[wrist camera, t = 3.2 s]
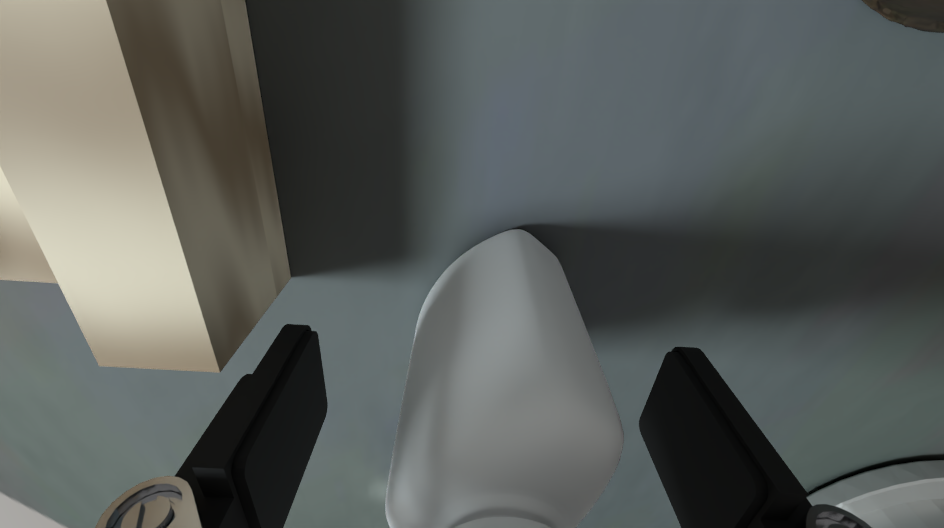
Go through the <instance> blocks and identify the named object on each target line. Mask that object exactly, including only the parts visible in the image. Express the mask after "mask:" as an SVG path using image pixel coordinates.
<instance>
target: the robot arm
mask: <svg viewBox="0 0 944 528" xmlns="http://www.w3.org/2000/svg"><path fill="white" fill-rule="evenodd" d="M326 413H327V397H326V389H325V382H324V375H323V368H322V361H321V353H320V346H319V339H318V334H317V332H316V331H311V328H310V326H308V325H293V324H286V325H285V326H284V327H283V328H282V329H281V331H280V333H279V334H278V336H277V337H276V339H275V340H274V342H273V343H272V345H271V346H270V348H269V349H268V351H267V353H266V354H265V356H264V357H263V359H262V360H261V362H260V363H259V365H258V366H257V368H256V370H255V371H254V373H253V374H246V375H245V376H243V377H242V378H241V379H240V381H239V382H238V383H237V385H236V386H235V388H234V389H233V391H232V392H231V394H230V395H229V397H228V398H227V400H226V401H225V403H224V404H223V405H222V407H221V408H220V410H219V411H218V413H217V414H216V416H215V417H214V419H213V420H212V422H211V423H210V425H209V426H208V428H207V429H206V431H205V432H204V434H203V435H202V437H201V438H200V440H199V441H198V443H197V444H196V445H195V447H194V448H193V450H192V451H191V453H190V454H189V456H188V457H187V459H186V460H185V462H184V463H183V465H182V466H181V468H180V469H179V471H178V472H177V474H176V475H175V477H173V476H164V477H157V478H153V479H150V480H148V481H145V482H142V483H140V484H138V485H136V486H135V487H133V488H131V489H129V490H128V491H126V492H125V493H123V494H122V495H121V496H120V497H119V498H117V499H116V500H115V501H114V502H112V504H111V505H110V506H109V507H108V508H107V509H106V511H105V512H104V513H103V514H102V515H101V517H100V519H99V521H98V523H97V525H96V527H95V528H283V526H284V524H285V521H286V519H287V516H288V513H289V511H290V508H291V506H292V503H293V500H294V498H295V495H296V493H297V490H298V487H299V485H300V482H301V480H302V477H303V474H304V472H305V469H306V466H307V464H308V461H309V459H310V456H311V453H312V451H313V448H314V446H315V443H316V440H317V438H318V435H319V433H320V430H321V427H322V425H323V422H324V419H325V417H326ZM639 428H640V432H641V435H642V437H643V439H644V442H645V444H646V446H647V449H648V451H649V453H650V456H651V458H652V460H653V463H654V465H655V467H656V470H657V472H658V474H659V477H660V479H661V481H662V484H663V486H664V488H665V491H666V493H667V495H668V497H669V500H670V502H671V504H672V507H673V509H674V511H675V514H676V516H677V518H678V521H679V523H680V525H681V528H944V460H931V461H916V462H909V463H903V464H896V465H891V466H887V467H882V468H878V469H874V470H870V471H866V472H863V473H860V474H857V475H854V476H851V477H849V478H846V479H843V480H840V481H838V482H835V483H833V484H831V485H829V486H827V487H824V488H822V489H820V490H818V491H816V492H814V493H812V494H811V495H809V496H807V495H808V493H807V492H806V491H805V489H804V488H803V487H802V485H801V484H800V483H799V481H798V480H797V479H796V477H795V476H794V475H793V473H792V472H791V470H790V469H789V468H788V466H787V465H786V464H785V462H784V461H783V460H782V458H781V457H780V456H779V454H778V453H777V452H776V450H775V449H774V448H773V446H772V445H771V443H770V442H769V441H768V439H767V438H766V437H765V435H764V434H763V433H762V431H761V430H760V429H759V427H758V426H757V425H756V423H755V422H754V420H753V419H752V418H751V416H750V415H749V414H748V412H747V411H746V410H745V408H744V407H743V406H742V404H741V403H740V402H739V400H738V399H737V398H736V396H735V395H734V393H733V392H732V391H731V389H730V388H729V387H728V385H727V384H726V383H725V381H724V380H723V379H722V377H721V376H720V375H719V373H718V372H717V370H716V369H715V368H714V366H713V365H712V364H711V362H710V361H709V360H708V358H707V357H706V356H705V354H704V353H703V352H702V351H701V350H700V349H698V348H690V347H675V348H674V349H673V350H672V351H671V352H668V353H667V354H666V355H665V358H664V360H663V363H662V365H661V368H660V370H659V373H658V375H657V377H656V380H655V382H654V385H653V387H652V390H651V392H650V395H649V397H648V400H647V402H646V405H645V407H644V410H643V412H642V414H641V417H640V420H639ZM806 496H807V497H806Z"/></svg>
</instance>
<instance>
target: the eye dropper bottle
mask: <svg viewBox="0 0 944 528" xmlns="http://www.w3.org/2000/svg"><path fill="white" fill-rule="evenodd" d="M623 443H624V433H623V429H622V424H621V420H620V417H619V414H618V411H617V409H616V406H615V403H614V400H613V398H612V395H611V392H610V389H609V386H608V384H607V381H606V378H605V376H604V373H603V370H602V368H601V365H600V363H599V360H598V358H597V355H596V352H595V350H594V347H593V345H592V342H591V340H590V337H589V334H588V332H587V329H586V327H585V324H584V322H583V319H582V316H581V314H580V311H579V309H578V306H577V304H576V301H575V299H574V296H573V294H572V291H571V289H570V286H569V284H568V281H567V279H566V276H565V274H564V271H563V269H562V266H561V264H560V262H559V261H558V259H557V257H556V256H555V255H554V254H553V253H552V252H551V251H550V250H549V249H547V248H546V247H545V246H544V245H543V244H542V243H541V242H540V241H538V240H537V239H536V238H535V237H534V236H532V235H531V234H530V233H528V232H526V231H524V230H522V229H513V230H508V231H505V232H502V233H499V234H497V235H495V236H493V237H491V238H489V239H487V240H485V241H483V242H481V243H479V244H477V245H476V246H474V247H473V248H471V249H470V250H468V251H467V252H465V253H464V254H463V255H461V256H460V257H459V258H458V259H457V260H455V261H454V262H453V263H452V264H451V265H450V266H449V267H448V268H447V269H446V270H445V271H444V272H443V274H442V275H441V276H440V277H439V279H438V280H437V281H436V283H435V284H434V286H433V287H432V289H431V290H430V292H429V294H428V296H427V298H426V300H425V302H424V304H423V306H422V309H421V312H420V314H419V318H418V322H417V326H416V331H415V337H414V342H413V347H412V352H411V358H410V363H409V368H408V374H407V379H406V384H405V390H404V395H403V400H402V406H401V411H400V417H399V422H398V428H397V433H396V439H395V444H394V449H393V455H392V461H391V468H390V474H389V480H388V486H387V492H386V506H385V509H386V517H387V520H388V524H389V526H390V528H575V527H576V526H577V525H578V524H579V523H580V522H581V521H582V519H583V518H584V517H585V516H586V515H587V513H588V512H589V511H590V510H591V508H592V507H593V506H594V504H595V503H596V501H597V500H598V498H599V497H600V495H601V494H602V492H603V491H604V489H605V488H606V486H607V485H608V483H609V481H610V479H611V477H612V475H613V473H614V472H615V470H616V468H617V465H618V463H619V461H620V457H621V453H622V448H623Z"/></svg>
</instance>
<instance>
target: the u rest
mask: <svg viewBox="0 0 944 528" xmlns="http://www.w3.org/2000/svg"><path fill="white" fill-rule="evenodd" d="M290 279H291V275H290V269H289V263H288V257H287V251H286V245H285V238H284V232H283V226H282V220H281V214H280V208H279V202H278V196H277V190H276V184H275V178H274V172H273V166H272V160H271V154H270V148H269V142H268V136H267V130H266V124H265V118H264V112H263V106H262V99H261V93H260V87H259V81H258V75H257V69H256V63H255V57H254V51H253V45H252V39H251V33H250V27H249V21H248V15H247V9H246V3H245V0H0V280H14V281H30V282H46V283H58V284H59V286H60V288H61V290H62V292H63V294H64V296H65V298H66V300H67V302H68V304H69V306H70V308H71V310H72V312H73V314H74V316H75V318H76V320H77V322H78V324H79V326H80V328H81V330H82V332H83V334H84V336H85V338H86V340H87V342H88V344H89V346H90V348H91V350H92V352H93V354H94V356H95V358H96V360H97V362H98V364H99V366H108V367H127V368H145V369H164V370H183V371H201V372H221V370H222V369H223V368H224V366H225V365H226V364H227V362H228V361H229V360H230V358H231V357H232V356H233V354H234V353H235V352H236V350H237V349H238V348H239V346H240V345H241V344H242V343H243V341H244V340H245V339H246V337H247V336H248V335H249V333H250V332H251V331H252V329H253V328H254V327H255V325H256V324H257V323H258V321H259V320H260V319H261V317H262V316H263V315H264V313H265V312H266V311H267V309H268V308H269V307H270V305H271V304H272V303H273V301H274V300H275V299H276V297H277V296H278V295H279V293H280V292H281V291H282V289H283V288H284V287H285V285H286V284H287V283H288V281H289V280H290Z"/></svg>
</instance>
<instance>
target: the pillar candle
mask: <svg viewBox="0 0 944 528" xmlns="http://www.w3.org/2000/svg"><path fill="white" fill-rule="evenodd" d="M862 1H863V2H864V3H865V4H867V5H868V6H869V7H870V8H871V9H873V10H875V11H876V12H878V13H879V14H881V15H882V16H883V17H885V18H886V19H888V20H890V21H894V22H897V23H900V24H902V25H904V26H905V27H912V28H915V29H918V30H922V31H928V32H944V0H862Z"/></svg>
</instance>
